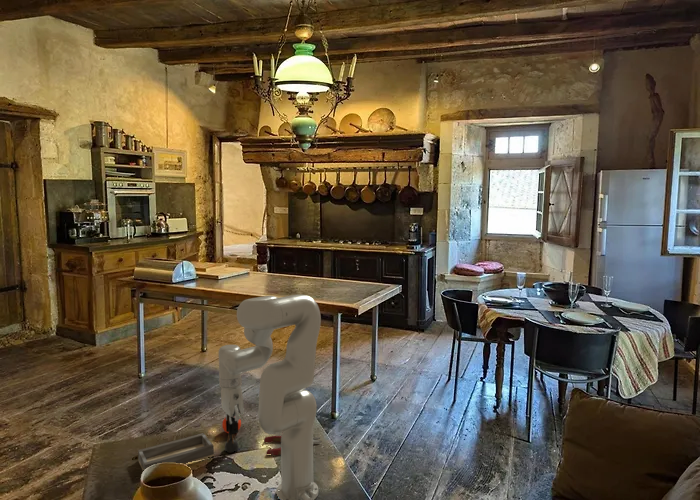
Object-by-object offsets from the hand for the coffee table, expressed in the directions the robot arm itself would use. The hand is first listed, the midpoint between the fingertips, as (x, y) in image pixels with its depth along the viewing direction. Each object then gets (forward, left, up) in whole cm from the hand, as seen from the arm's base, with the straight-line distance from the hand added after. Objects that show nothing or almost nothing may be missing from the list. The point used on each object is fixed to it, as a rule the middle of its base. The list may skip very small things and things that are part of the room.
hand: (232, 431), depth 173 cm
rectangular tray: (+4, +18, -7) cm, 20 cm away
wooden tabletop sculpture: (0, 0, -6) cm, 6 cm away
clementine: (+12, -5, -7) cm, 15 cm away
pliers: (-10, -18, -7) cm, 22 cm away
